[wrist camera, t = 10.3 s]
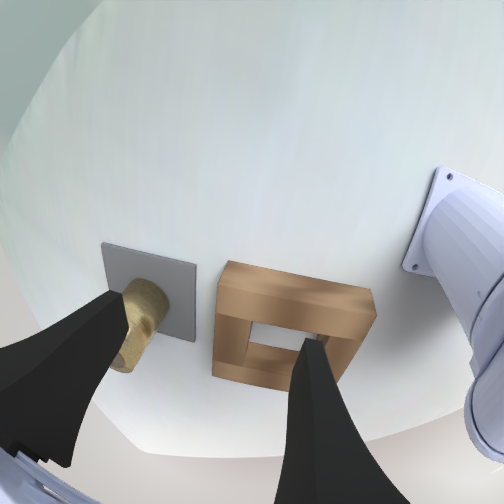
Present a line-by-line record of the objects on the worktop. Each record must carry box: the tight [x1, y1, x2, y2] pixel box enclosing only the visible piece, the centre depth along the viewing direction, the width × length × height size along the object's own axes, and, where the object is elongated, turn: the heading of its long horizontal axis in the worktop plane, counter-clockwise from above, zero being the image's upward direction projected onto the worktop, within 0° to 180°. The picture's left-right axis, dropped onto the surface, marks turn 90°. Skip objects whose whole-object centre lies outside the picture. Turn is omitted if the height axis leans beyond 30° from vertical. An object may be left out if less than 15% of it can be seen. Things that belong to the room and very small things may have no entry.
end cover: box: [110, 278, 170, 373], centre depth 21 cm, size 4×4×7 cm
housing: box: [212, 261, 377, 392], centre depth 22 cm, size 11×11×3 cm
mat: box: [101, 242, 196, 343], centre depth 24 cm, size 9×9×1 cm
